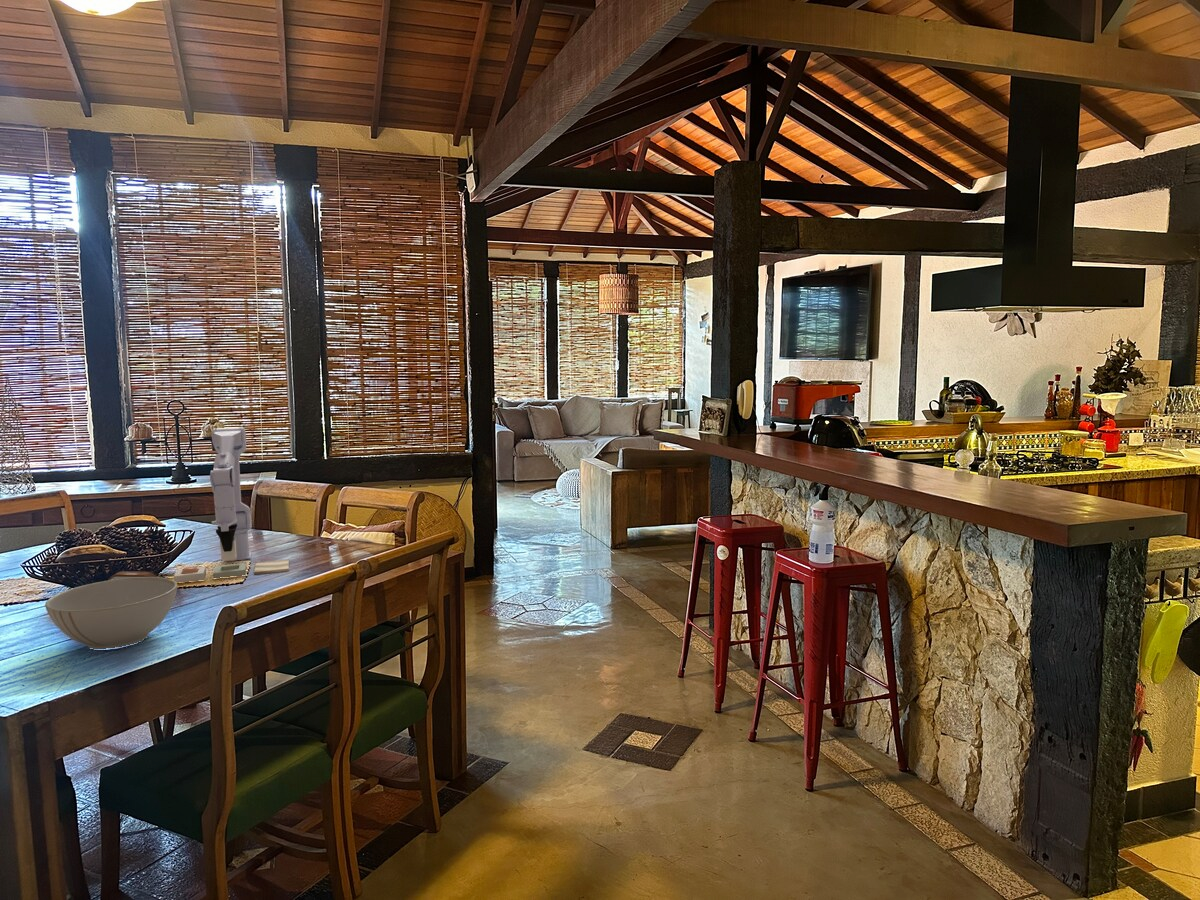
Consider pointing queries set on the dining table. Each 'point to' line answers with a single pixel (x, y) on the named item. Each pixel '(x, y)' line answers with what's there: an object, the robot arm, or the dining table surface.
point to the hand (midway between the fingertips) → (228, 549)
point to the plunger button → (189, 570)
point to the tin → (131, 575)
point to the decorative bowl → (112, 610)
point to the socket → (230, 570)
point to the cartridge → (229, 552)
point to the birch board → (271, 567)
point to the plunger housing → (190, 575)
